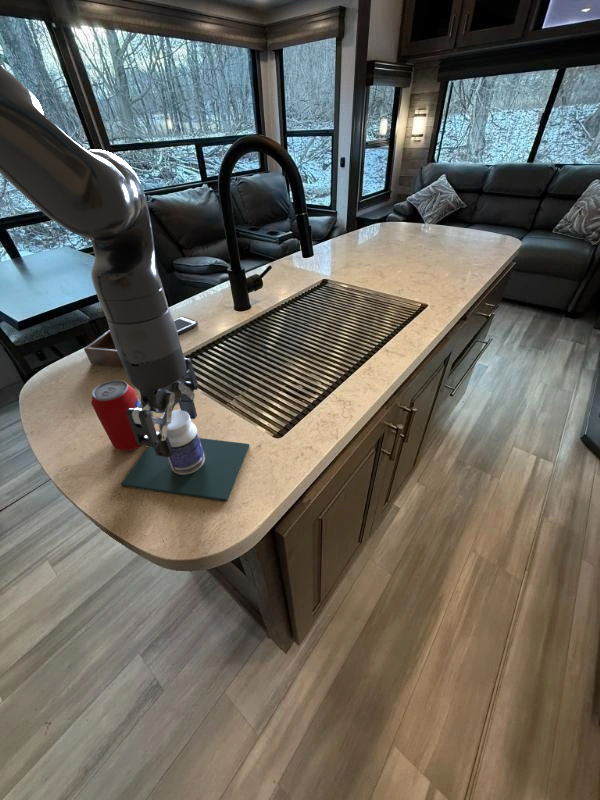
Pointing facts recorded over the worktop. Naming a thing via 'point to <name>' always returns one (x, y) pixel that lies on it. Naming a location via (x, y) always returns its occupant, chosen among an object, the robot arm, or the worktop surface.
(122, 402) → the beverage can
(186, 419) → the pill bottle
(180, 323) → the cell phone
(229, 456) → the mat
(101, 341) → the divided tray
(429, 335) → the worktop surface
